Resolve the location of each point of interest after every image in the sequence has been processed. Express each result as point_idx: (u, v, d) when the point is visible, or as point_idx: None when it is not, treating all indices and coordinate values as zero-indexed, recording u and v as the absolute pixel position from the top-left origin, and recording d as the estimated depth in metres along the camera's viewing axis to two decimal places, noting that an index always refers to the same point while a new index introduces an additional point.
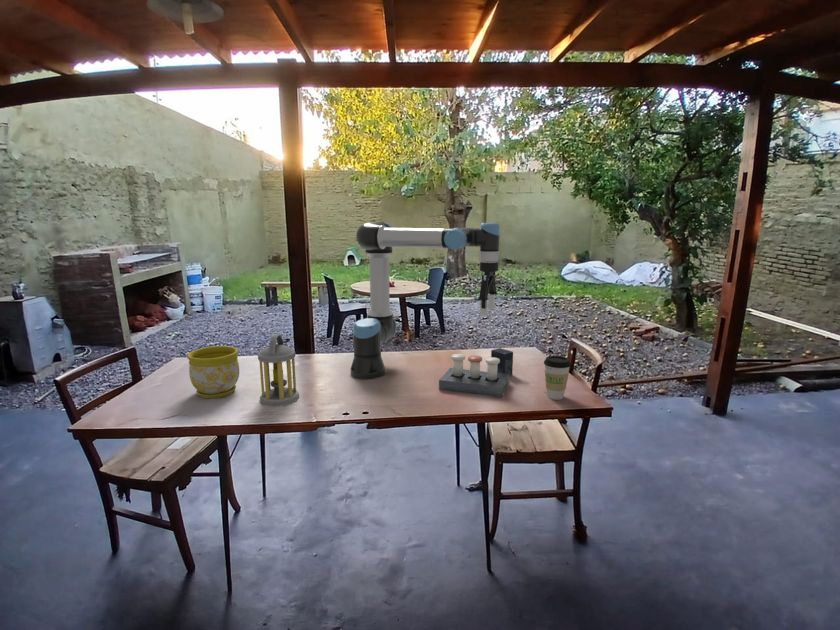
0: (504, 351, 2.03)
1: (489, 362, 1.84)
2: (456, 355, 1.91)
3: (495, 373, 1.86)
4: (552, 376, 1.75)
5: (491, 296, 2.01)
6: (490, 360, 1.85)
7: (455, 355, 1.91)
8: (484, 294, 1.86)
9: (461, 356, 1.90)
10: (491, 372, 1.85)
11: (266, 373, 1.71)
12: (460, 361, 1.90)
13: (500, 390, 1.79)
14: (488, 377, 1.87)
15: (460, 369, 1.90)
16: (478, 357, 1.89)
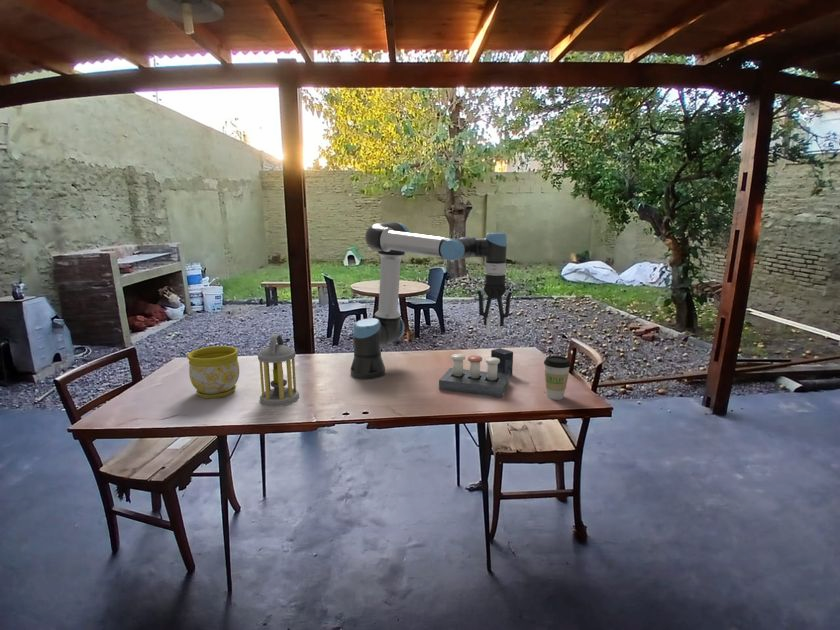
0: (504, 351, 2.03)
1: (489, 362, 1.84)
2: (456, 355, 1.91)
3: (495, 373, 1.86)
4: (552, 376, 1.75)
5: None
6: (490, 360, 1.85)
7: (455, 355, 1.91)
8: (479, 310, 1.83)
9: (461, 356, 1.90)
10: (491, 372, 1.85)
11: (266, 373, 1.71)
12: (460, 361, 1.90)
13: (500, 390, 1.79)
14: (488, 377, 1.87)
15: (460, 369, 1.90)
16: (478, 357, 1.89)
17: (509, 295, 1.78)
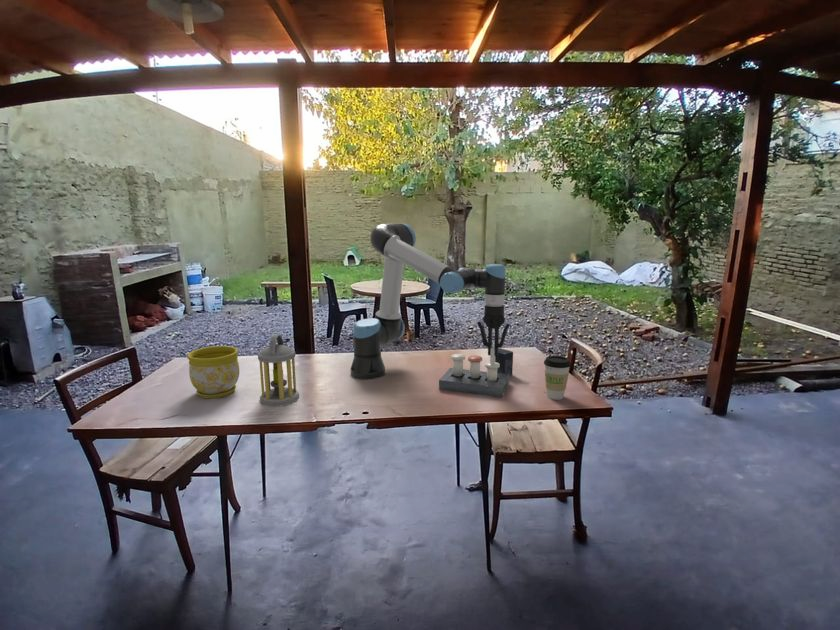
0: (504, 351, 2.03)
1: (489, 367, 1.85)
2: (456, 355, 1.91)
3: (495, 378, 1.86)
4: (552, 376, 1.75)
5: None
6: (490, 365, 1.85)
7: (455, 355, 1.91)
8: None
9: (461, 356, 1.90)
10: (490, 376, 1.86)
11: (266, 373, 1.71)
12: (460, 361, 1.90)
13: (500, 390, 1.79)
14: None
15: (460, 369, 1.90)
16: (478, 357, 1.89)
17: (507, 327, 1.80)
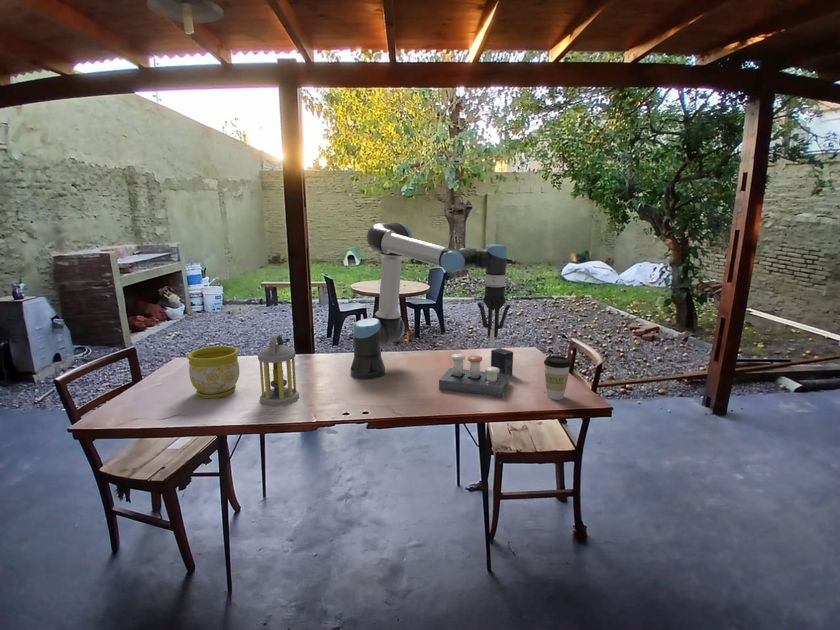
0: (504, 351, 2.03)
1: (489, 372, 1.85)
2: (456, 355, 1.91)
3: None
4: (552, 376, 1.75)
5: None
6: (490, 370, 1.86)
7: (455, 355, 1.91)
8: None
9: (461, 356, 1.90)
10: None
11: (266, 373, 1.71)
12: (460, 361, 1.90)
13: (500, 390, 1.79)
14: None
15: (460, 369, 1.90)
16: (478, 357, 1.89)
17: (507, 308, 1.79)
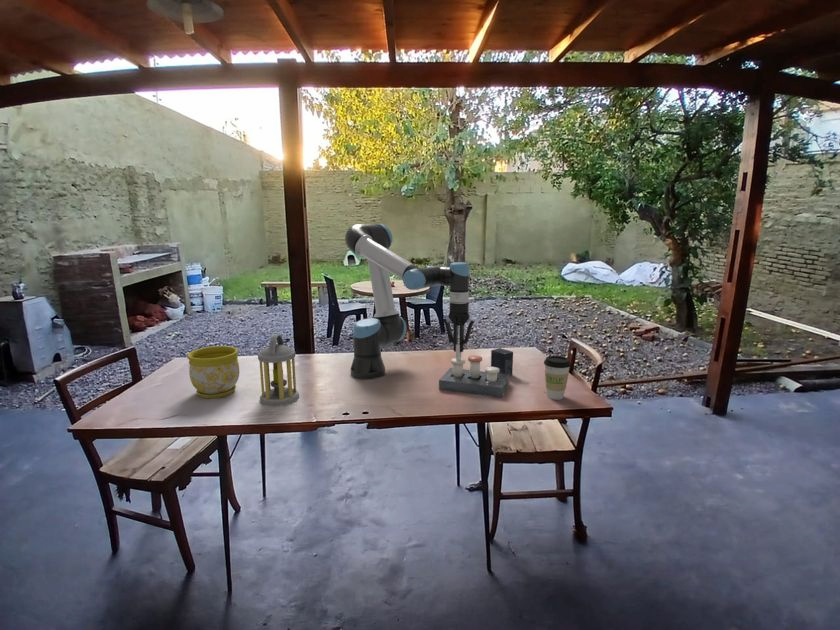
0: (504, 351, 2.03)
1: (489, 372, 1.85)
2: None
3: None
4: (552, 376, 1.75)
5: None
6: (490, 370, 1.86)
7: (455, 359, 1.92)
8: None
9: (461, 360, 1.90)
10: None
11: (266, 373, 1.71)
12: (460, 365, 1.90)
13: (500, 390, 1.79)
14: None
15: (460, 373, 1.91)
16: (478, 357, 1.89)
17: (471, 323, 1.85)
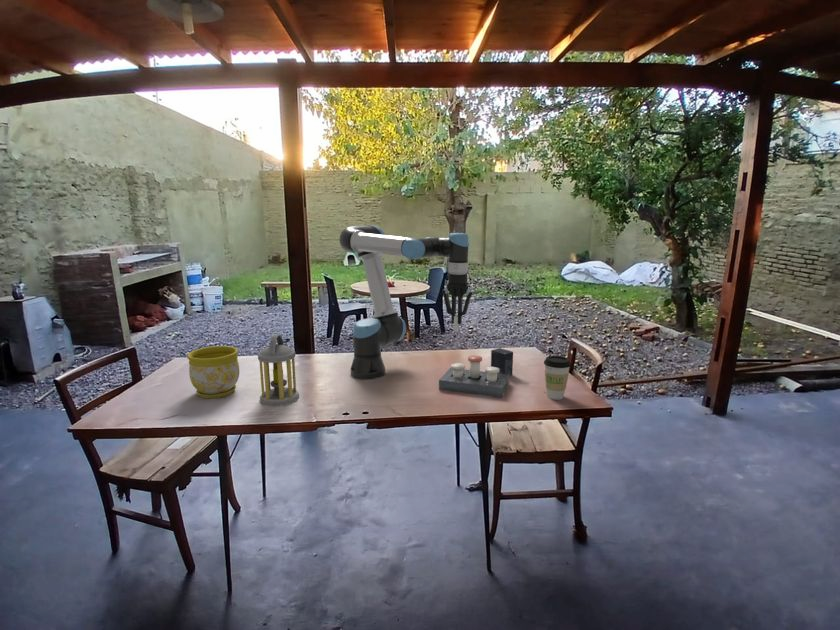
0: (504, 351, 2.03)
1: (489, 372, 1.85)
2: (456, 364, 1.92)
3: None
4: (552, 376, 1.75)
5: None
6: (490, 370, 1.86)
7: (455, 364, 1.92)
8: None
9: (461, 365, 1.91)
10: None
11: (266, 373, 1.71)
12: (460, 370, 1.90)
13: (500, 390, 1.79)
14: None
15: None
16: (478, 357, 1.89)
17: (469, 295, 1.84)
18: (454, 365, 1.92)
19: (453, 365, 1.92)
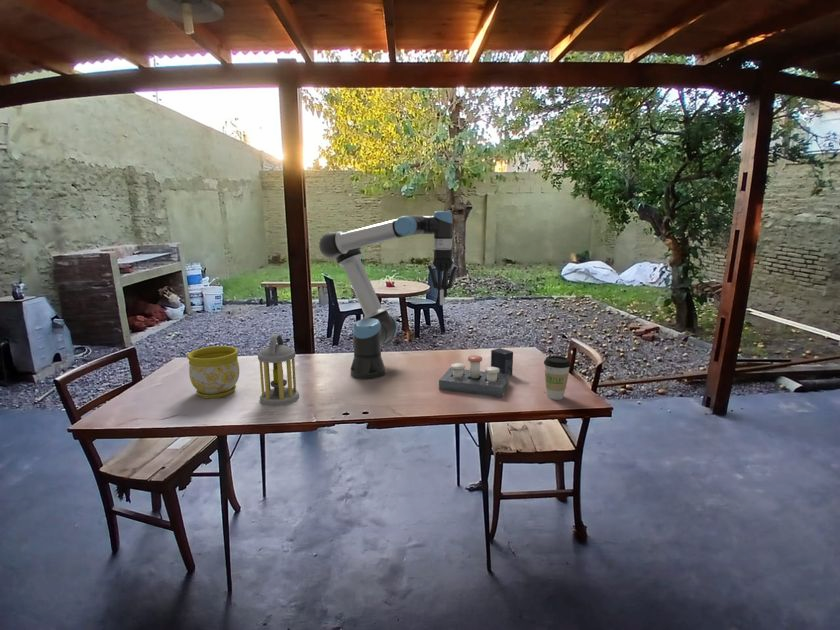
0: (504, 351, 2.03)
1: (489, 372, 1.85)
2: (456, 364, 1.92)
3: None
4: (552, 376, 1.75)
5: None
6: (490, 370, 1.86)
7: (455, 364, 1.92)
8: None
9: (461, 365, 1.91)
10: None
11: (266, 373, 1.71)
12: (460, 370, 1.90)
13: (500, 390, 1.79)
14: None
15: None
16: (478, 357, 1.89)
17: (454, 269, 1.95)
18: (454, 365, 1.92)
19: (453, 365, 1.92)
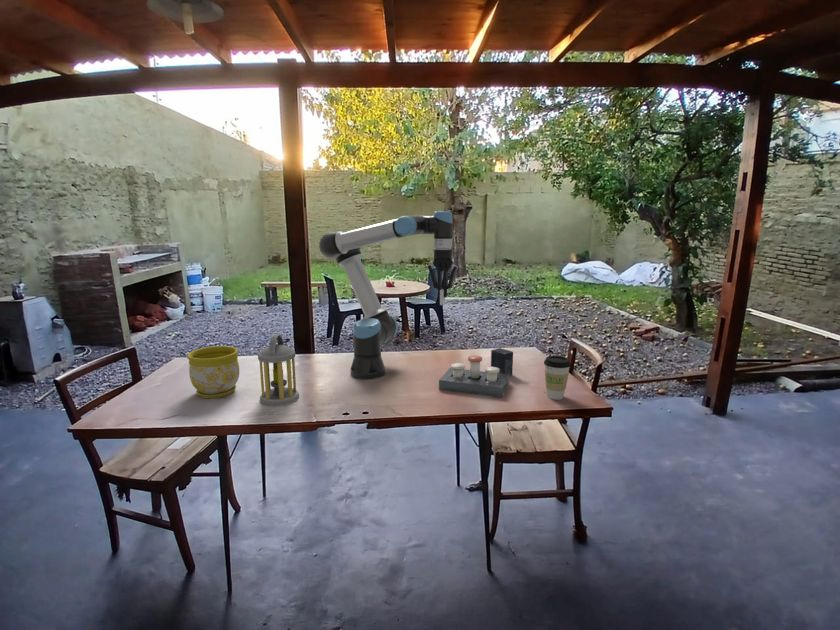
0: (504, 351, 2.03)
1: (489, 372, 1.85)
2: (456, 364, 1.92)
3: None
4: (552, 376, 1.75)
5: None
6: (490, 370, 1.86)
7: (455, 364, 1.92)
8: None
9: (461, 365, 1.91)
10: None
11: (266, 373, 1.71)
12: (460, 370, 1.90)
13: (500, 390, 1.79)
14: None
15: None
16: (478, 357, 1.89)
17: (454, 269, 1.95)
18: (454, 365, 1.92)
19: (453, 365, 1.92)
